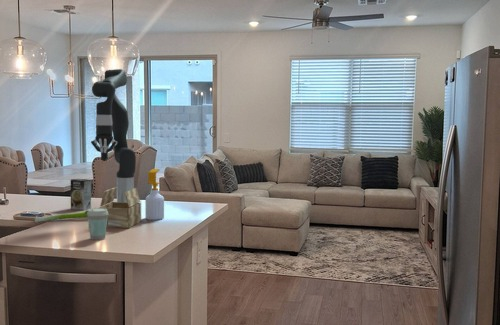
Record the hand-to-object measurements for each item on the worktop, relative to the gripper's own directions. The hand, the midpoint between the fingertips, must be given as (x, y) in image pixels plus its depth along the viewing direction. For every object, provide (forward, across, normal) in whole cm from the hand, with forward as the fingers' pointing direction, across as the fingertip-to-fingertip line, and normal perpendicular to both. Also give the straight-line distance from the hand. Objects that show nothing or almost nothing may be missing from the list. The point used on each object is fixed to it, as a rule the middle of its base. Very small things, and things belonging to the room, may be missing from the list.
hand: (104, 160), depth 242 cm
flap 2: (+20, +17, -8) cm, 27 cm away
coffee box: (+29, -24, +27) cm, 46 cm away
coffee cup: (+29, +11, -36) cm, 48 cm away
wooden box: (+29, +11, -8) cm, 32 cm away
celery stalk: (+30, -17, -4) cm, 34 cm away
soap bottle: (+29, +22, +9) cm, 38 cm away
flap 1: (+20, +4, -8) cm, 21 cm away
